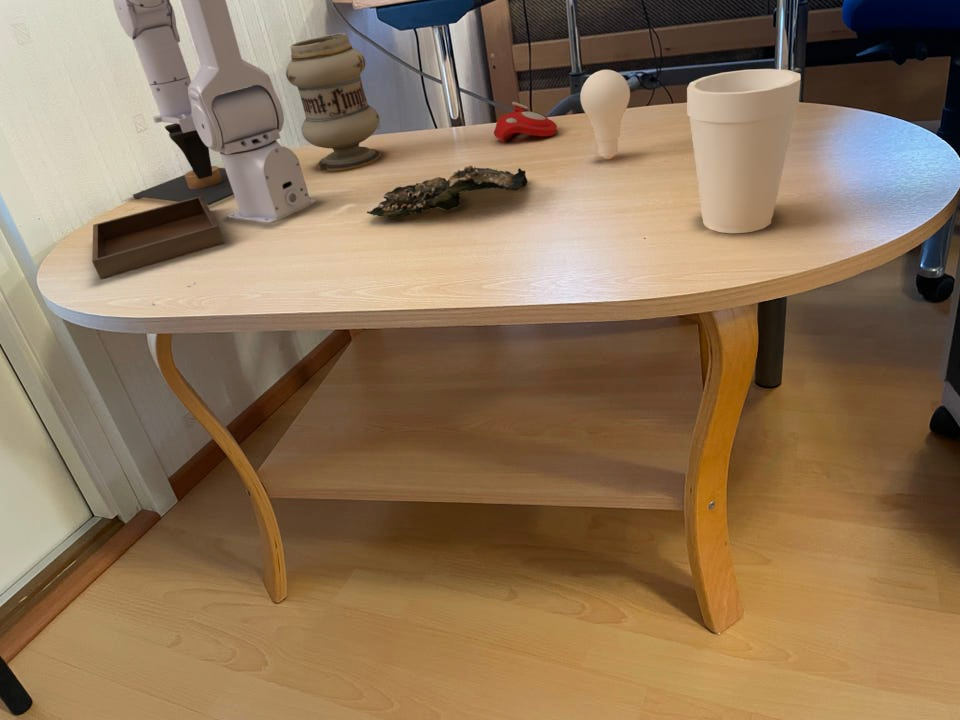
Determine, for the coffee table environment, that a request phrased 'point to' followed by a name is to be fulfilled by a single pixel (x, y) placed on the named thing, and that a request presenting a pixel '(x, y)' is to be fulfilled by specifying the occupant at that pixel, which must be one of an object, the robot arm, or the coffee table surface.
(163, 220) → the tray
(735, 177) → the foam cup
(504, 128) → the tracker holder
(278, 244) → the coffee table surface
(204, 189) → the mat
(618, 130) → the lightbulb
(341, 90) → the apothecary jar
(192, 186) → the wooden puck
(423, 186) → the tree bark
